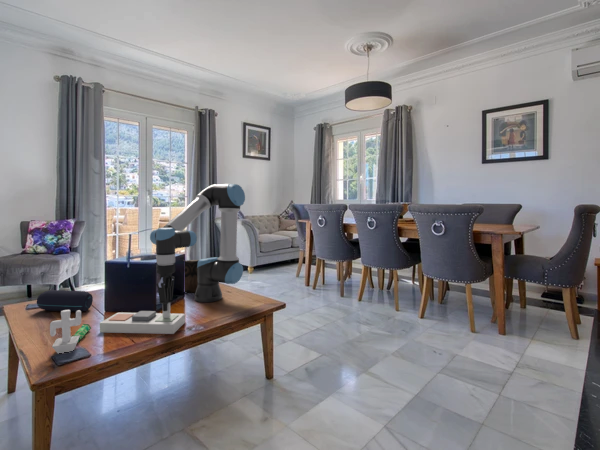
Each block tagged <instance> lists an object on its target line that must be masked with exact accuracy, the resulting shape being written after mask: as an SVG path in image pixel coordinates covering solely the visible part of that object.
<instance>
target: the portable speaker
mask: <svg viewBox="0 0 600 450" xmlns="http://www.w3.org/2000/svg"><path fill="white" fill-rule="evenodd" d="M93 299H94V296H93V295H92V294H91V293H90V292H88V291H86V290H85V291H84V290H65V289H63V290H60V289H58V290H57V289H50V290H46V291H44V292H41V293H40V294H39V295H38V297H37V298H36V305H37V308H39V309H41V310H43V311H48V312H49V311H51V312H61V311H63V310H70V312H72V313H73V312H75V313H76V311H78V310H80V311H81V313H83V312H86V311H88V310H89V309H90V308H91V307H92V305H93V302H94V300H93Z"/></svg>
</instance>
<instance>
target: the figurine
mask: <svg viewBox="0 0 600 450" xmlns="http://www.w3.org/2000/svg"><path fill="white" fill-rule="evenodd" d="M81 324H82V312H81V311H80V310H78V311H76V312H75V318H74V317H73V318H71V311H70V310H63V311H60V319H59V320H52V321H51V322H50V324H49V335H50V336H51V337H55V336H56V334H57V329H61V333H62V334H61V337H59V338H56V339H55V341H54V342H53V344H52V346H51V347H52V349H54V351H55V352H56V354H58V355H60V354H59V353H62V354H65V353H64V352H69V351H73V350H74V351H75V349H76V346H77V343H78V340H79V337H80V335H79V336H72V333H71V328H72V327H77V326H80V325H81ZM71 336H72V337H71ZM74 351H73V352H74ZM69 353H70V352H69Z"/></svg>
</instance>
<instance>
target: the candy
mask: <svg viewBox="0 0 600 450" xmlns="http://www.w3.org/2000/svg"><path fill="white" fill-rule="evenodd" d="M91 329H92V327H91V326H90V324H88V323H83V324H82V325H81V327H79V328H78V330H77V331H76V332H75V333H74V334H73V335H72V334H71V337H72V336H79V335H80V337H79V340H78V342H77V343H78V344H79V343H80V341H81V340H82V339H83V338H84V337H85V336H86V334H87V333H88V332H90V330H91Z"/></svg>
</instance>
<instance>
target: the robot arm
mask: <svg viewBox="0 0 600 450" xmlns="http://www.w3.org/2000/svg"><path fill="white" fill-rule="evenodd" d="M245 201H246V195H245V191H244V188H243V187H242V186H241V185H240V184H237V183H220V184H219V183H214V184H211V185H209V186H208V187H206V188H204V189H203V190H201V191H200V192H198V193H197V195H195V197H194V200H192V201H191V202H190V203H189V204H188V205H187V206H185V208H183V209H182V210H181V211H180V212H178V213H177V214H176V215H175V216H174V217H173V218H172V219H171V220H169V221H168V222H167V223H166V224H165V225H164V226H162V227H158V228H156V229H154V230H152V231H151V232H150V235H149V239H150V242H151V243H152V244H153V245H155V247H156V249H155V250H156V252H155V258H156V265H155V266H156V269H155V270H156V274H158V275H160V276H159V282H156V288H157V292H158V300H159V303H160V304H161V305H162V313H163V318H170V313H171V303H172V302H173V297H174V287H175V286H174V285H175V279H176V277H175V276H173V274H174V273H176V250H177V249H183V248H190V247H193V246H195V245H196V243H197V241H198V239H197V238H198V237H197V233H196V232H195V231H193V230H187V229H186V228H187V227H188V226H189V225H190V224H191V223H193V221H195V220H196V219H197V218H198V217H199V216H200V215H201V214H202V213H203V212H204V211H205V210H206V211H207V210H209V209H210V208H211V207H213V206H214V207H215V206H218V210H219V212H220V243H219V245H220V246H219V247H220V248H219V249H220V250H219V251H220V252H219V253H220V255H219V257H217V256H216V257H215V256H214V257H208V258H207V257H205V258H201V259H198V260H199V261H198V266H197V276H198V286H197V289H196V293H194V301H196V302H198V303H213V302H217V301H220V300H222V298H223V292H222V290H221V287H220V283H223V284H227V285H235V284H237V283H238V282H240V280H241V278H242V277H243V273H244V266H243V265H242V263H240V259H239V257H238V256H237V243H238V242H237V239H238V237H237V236H238V233H237V232H238V212H239V211H240V210H241V206H243V205H244V203H245ZM185 229H186V230H185Z"/></svg>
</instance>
